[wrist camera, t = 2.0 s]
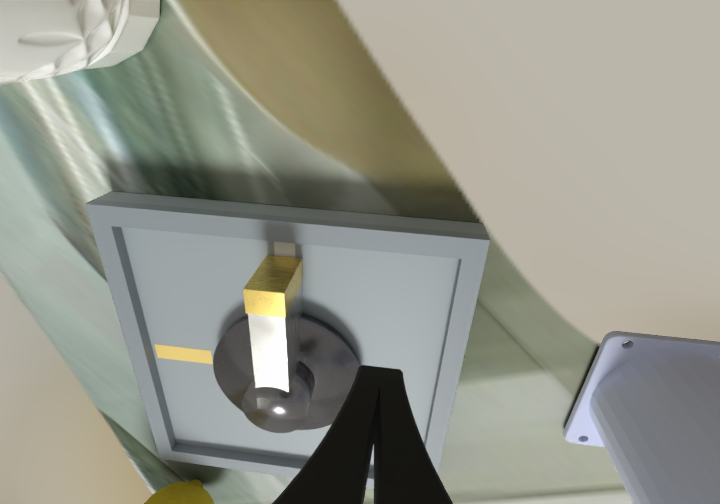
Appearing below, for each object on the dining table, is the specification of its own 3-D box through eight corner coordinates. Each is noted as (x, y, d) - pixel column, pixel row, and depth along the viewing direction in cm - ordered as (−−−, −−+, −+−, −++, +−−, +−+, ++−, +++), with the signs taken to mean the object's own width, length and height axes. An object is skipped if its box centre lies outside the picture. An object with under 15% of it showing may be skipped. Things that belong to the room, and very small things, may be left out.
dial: (358, 426, 23) (351, 474, 20) (227, 409, 24) (204, 454, 21) (369, 264, 18) (362, 301, 15) (202, 248, 19) (168, 281, 16)
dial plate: (482, 223, 18) (490, 240, 16) (430, 469, 26) (432, 497, 25) (111, 191, 19) (84, 203, 18) (174, 435, 28) (159, 458, 26)
